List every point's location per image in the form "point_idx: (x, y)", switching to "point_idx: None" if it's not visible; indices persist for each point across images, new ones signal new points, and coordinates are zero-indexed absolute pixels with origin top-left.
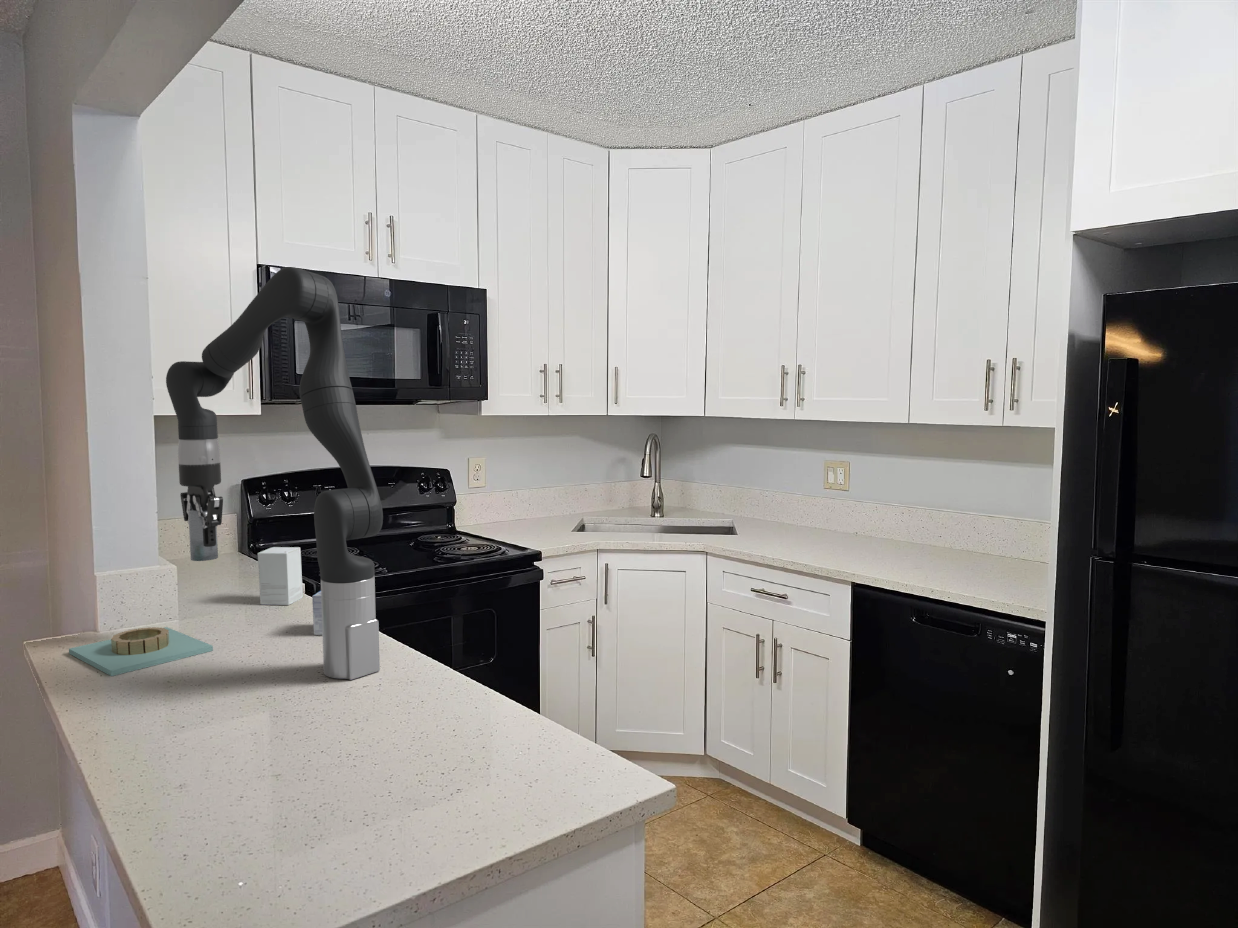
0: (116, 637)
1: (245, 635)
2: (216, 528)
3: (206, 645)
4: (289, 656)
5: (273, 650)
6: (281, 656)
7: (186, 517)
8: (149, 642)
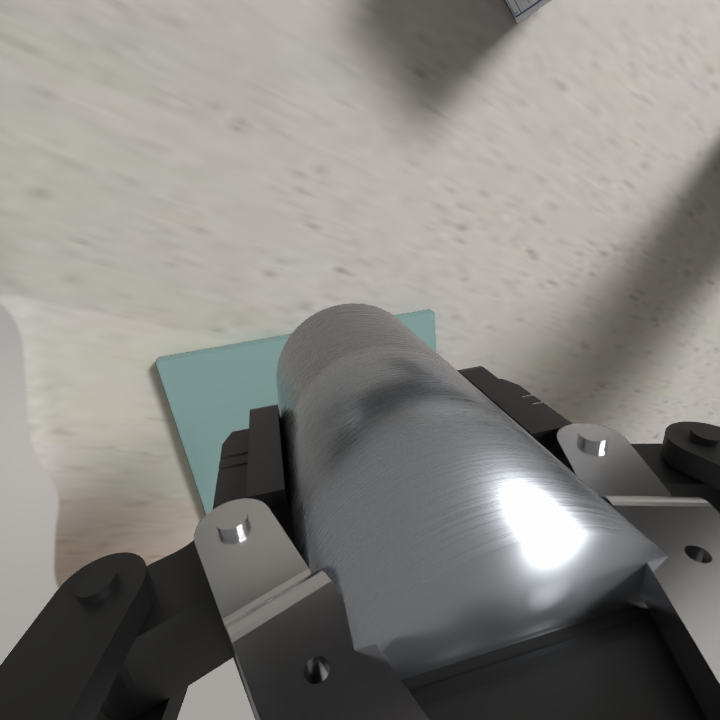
0: None
1: (360, 193)
2: (476, 390)
3: (421, 323)
4: (608, 184)
5: (541, 193)
6: (593, 199)
7: (181, 697)
8: None
